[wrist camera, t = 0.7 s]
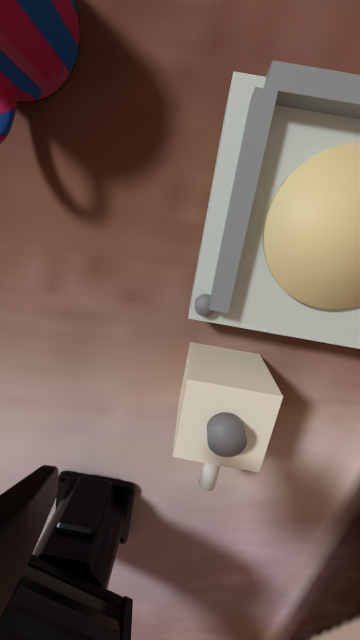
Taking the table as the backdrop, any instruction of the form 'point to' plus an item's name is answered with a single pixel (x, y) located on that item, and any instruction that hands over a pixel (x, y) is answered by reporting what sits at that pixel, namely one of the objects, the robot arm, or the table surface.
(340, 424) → the table surface
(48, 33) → the mug
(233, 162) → the grey tray
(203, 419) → the spout can
